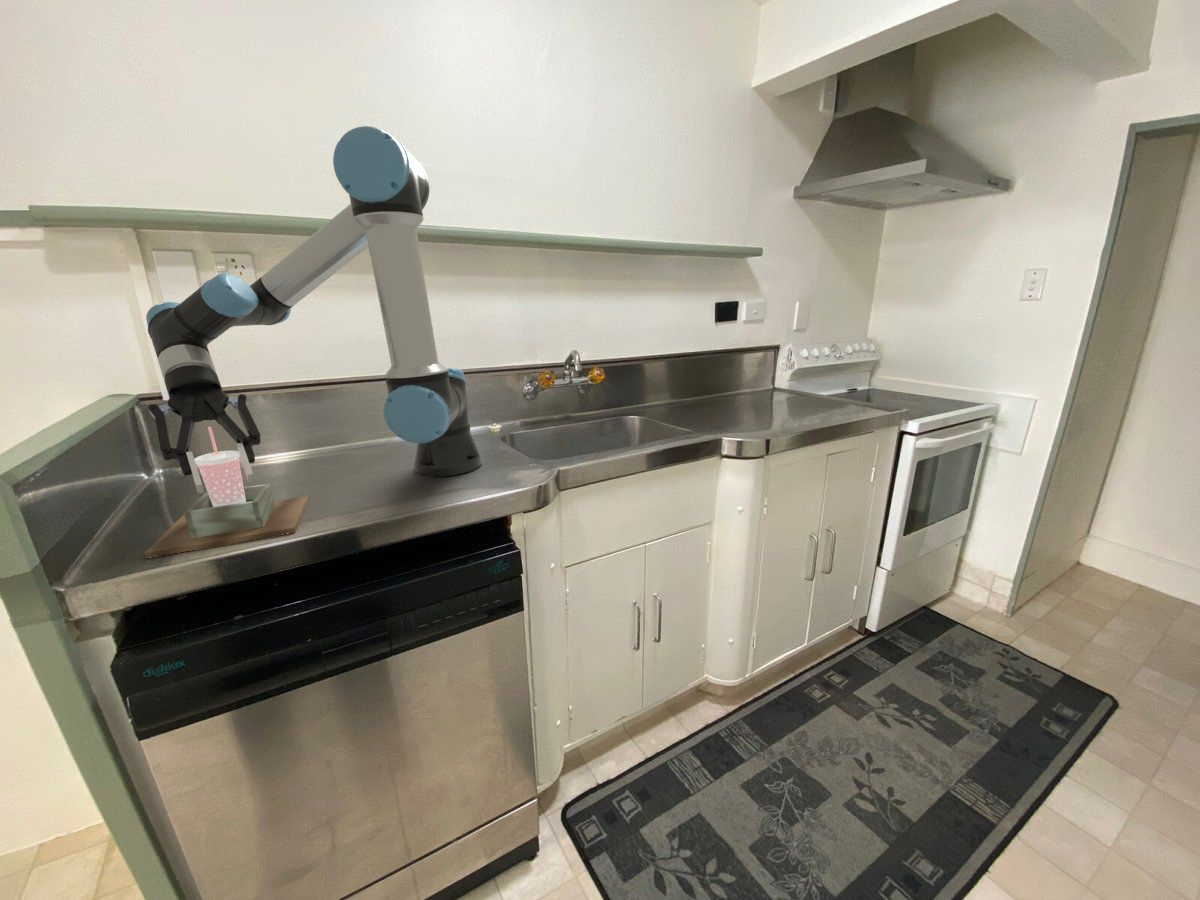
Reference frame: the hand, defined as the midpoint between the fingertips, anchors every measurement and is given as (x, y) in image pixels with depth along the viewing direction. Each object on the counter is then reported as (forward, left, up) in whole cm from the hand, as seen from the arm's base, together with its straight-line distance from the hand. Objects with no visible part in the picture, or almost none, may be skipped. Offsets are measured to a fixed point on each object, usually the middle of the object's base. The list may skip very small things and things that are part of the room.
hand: (226, 483), depth 81 cm
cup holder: (+1, -3, -9) cm, 10 cm away
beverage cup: (+1, -3, -5) cm, 6 cm away
